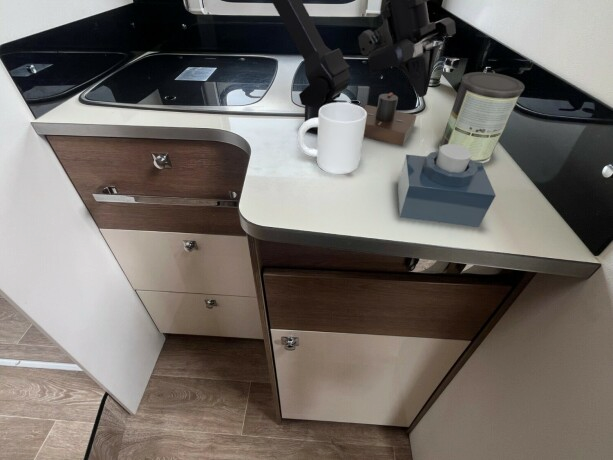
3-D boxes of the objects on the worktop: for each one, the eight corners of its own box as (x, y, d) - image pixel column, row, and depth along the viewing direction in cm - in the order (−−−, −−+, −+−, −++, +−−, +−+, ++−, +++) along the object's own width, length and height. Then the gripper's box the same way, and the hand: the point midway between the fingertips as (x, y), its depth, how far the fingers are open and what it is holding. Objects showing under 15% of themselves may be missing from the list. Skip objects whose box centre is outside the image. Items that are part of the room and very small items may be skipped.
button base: (399, 217, 50) (412, 174, 45) (397, 185, 57) (408, 144, 51) (478, 227, 49) (501, 184, 43) (467, 193, 55) (486, 152, 50)
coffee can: (428, 143, 68) (450, 73, 58) (468, 137, 70) (495, 69, 61) (459, 168, 61) (489, 94, 51) (502, 161, 63) (539, 88, 54)
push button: (437, 171, 46) (442, 157, 44) (433, 156, 49) (438, 142, 48) (468, 174, 46) (474, 160, 44) (463, 159, 49) (468, 145, 47)
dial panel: (349, 133, 71) (351, 119, 69) (364, 116, 77) (366, 104, 75) (402, 146, 67) (405, 132, 65) (413, 127, 73) (416, 114, 71)
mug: (296, 174, 58) (295, 120, 51) (297, 151, 64) (298, 101, 57) (361, 176, 58) (369, 123, 51) (356, 153, 64) (364, 102, 57)
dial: (390, 123, 68) (395, 100, 65) (373, 119, 69) (376, 96, 66) (395, 116, 71) (400, 94, 67) (378, 112, 72) (382, 90, 69)
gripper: (392, 3, 60) (408, 87, 67) (330, 26, 51) (356, 121, 58) (450, -24, 52) (462, 75, 59) (389, -2, 42) (411, 113, 49)
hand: (422, 96), depth 56 cm, fingers closed
